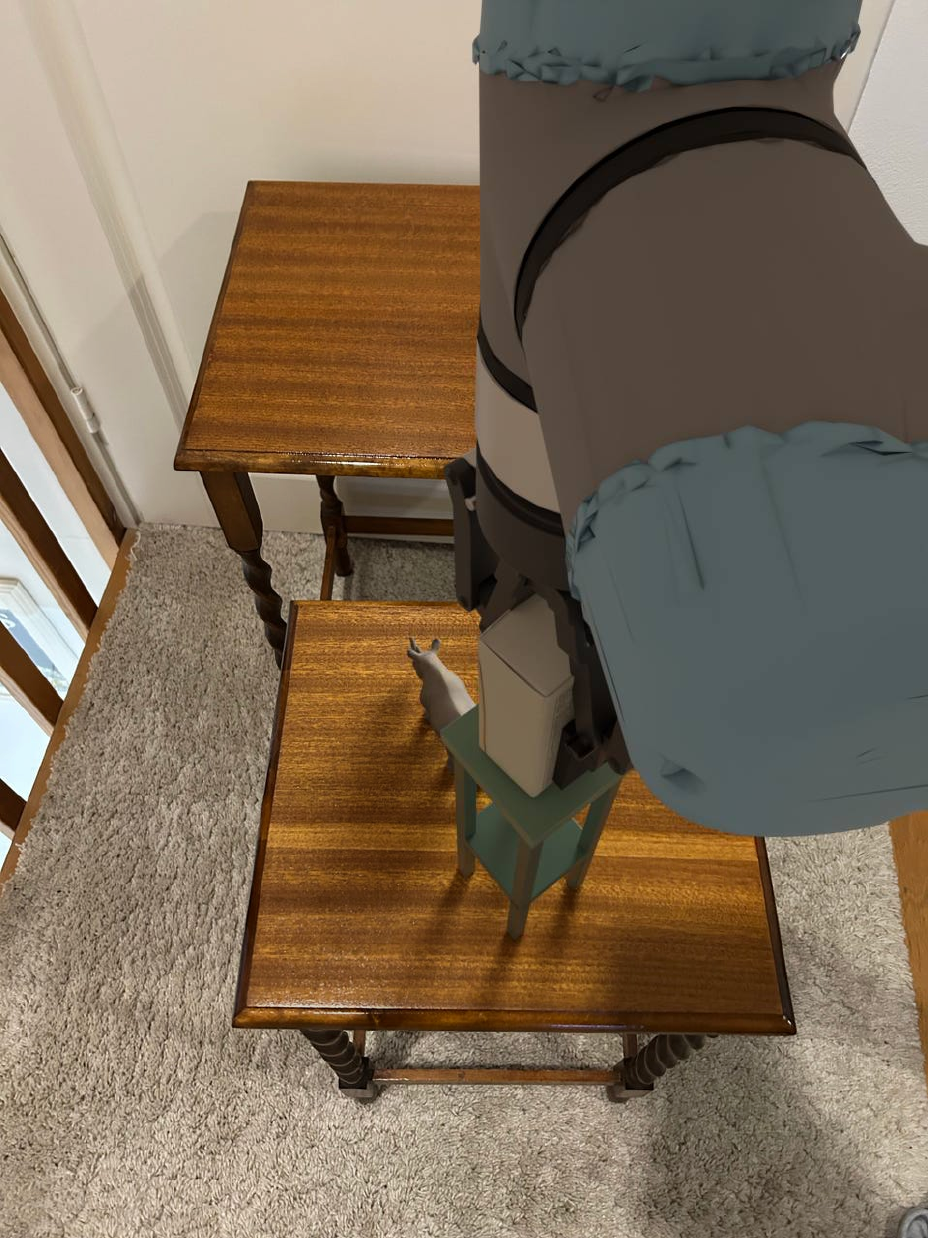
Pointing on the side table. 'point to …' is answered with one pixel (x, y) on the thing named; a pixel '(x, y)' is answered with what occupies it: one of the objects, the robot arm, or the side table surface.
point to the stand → (524, 848)
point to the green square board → (520, 809)
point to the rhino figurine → (439, 691)
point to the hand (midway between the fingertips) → (543, 733)
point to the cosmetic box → (524, 694)
